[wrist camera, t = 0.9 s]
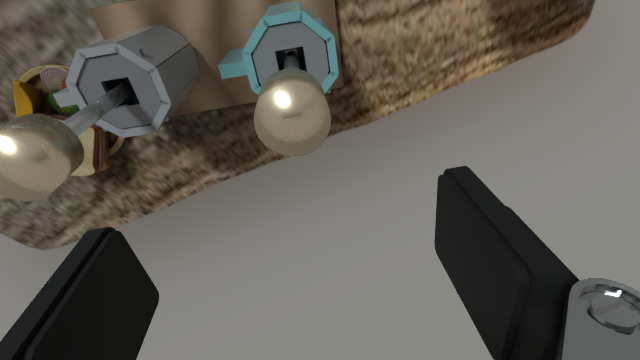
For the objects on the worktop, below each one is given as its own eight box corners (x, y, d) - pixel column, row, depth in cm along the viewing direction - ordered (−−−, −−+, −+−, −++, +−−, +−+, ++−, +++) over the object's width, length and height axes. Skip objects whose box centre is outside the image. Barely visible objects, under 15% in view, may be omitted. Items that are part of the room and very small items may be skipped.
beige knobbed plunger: (315, 19, 30) (337, 59, 16) (323, 79, 32) (349, 158, 19) (255, 29, 30) (226, 79, 16) (269, 88, 32) (255, 174, 19)
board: (329, -35, 36) (330, -35, 35) (342, 84, 43) (343, 86, 42) (95, 7, 36) (89, 8, 35) (146, 118, 43) (142, 121, 42)
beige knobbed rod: (151, 48, 30) (30, 113, 16) (174, 105, 33) (89, 202, 19) (92, 58, 30) (-79, 132, 16) (121, 114, 33) (-4, 218, 19)
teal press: (319, -4, 36) (330, 4, 26) (328, 68, 40) (341, 100, 30) (225, 12, 36) (201, 27, 26) (245, 82, 40) (230, 119, 30)
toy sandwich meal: (137, 87, 41) (120, 99, 37) (121, 173, 47) (106, 192, 43) (20, 44, 38) (-12, 53, 34) (20, 143, 44) (-7, 160, 40)
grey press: (185, 19, 36) (144, 37, 26) (208, 89, 40) (181, 127, 30) (92, 36, 36) (17, 60, 26) (125, 103, 41) (71, 146, 30)
